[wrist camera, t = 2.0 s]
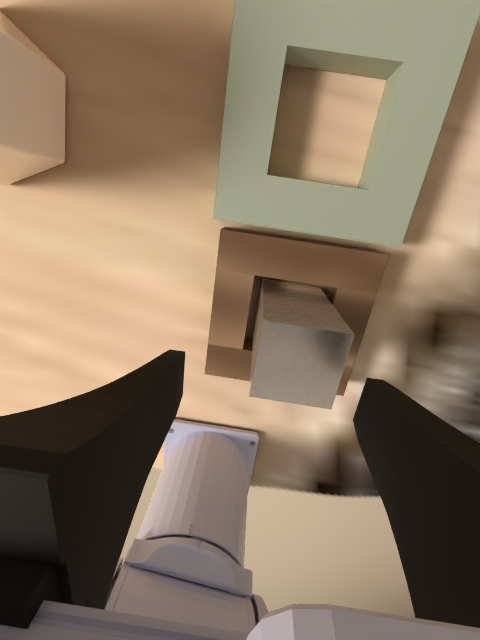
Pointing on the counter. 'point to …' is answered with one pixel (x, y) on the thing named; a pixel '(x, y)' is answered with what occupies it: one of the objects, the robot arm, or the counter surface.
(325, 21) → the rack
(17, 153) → the jar
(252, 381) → the peg
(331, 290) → the socket block
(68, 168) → the counter surface
